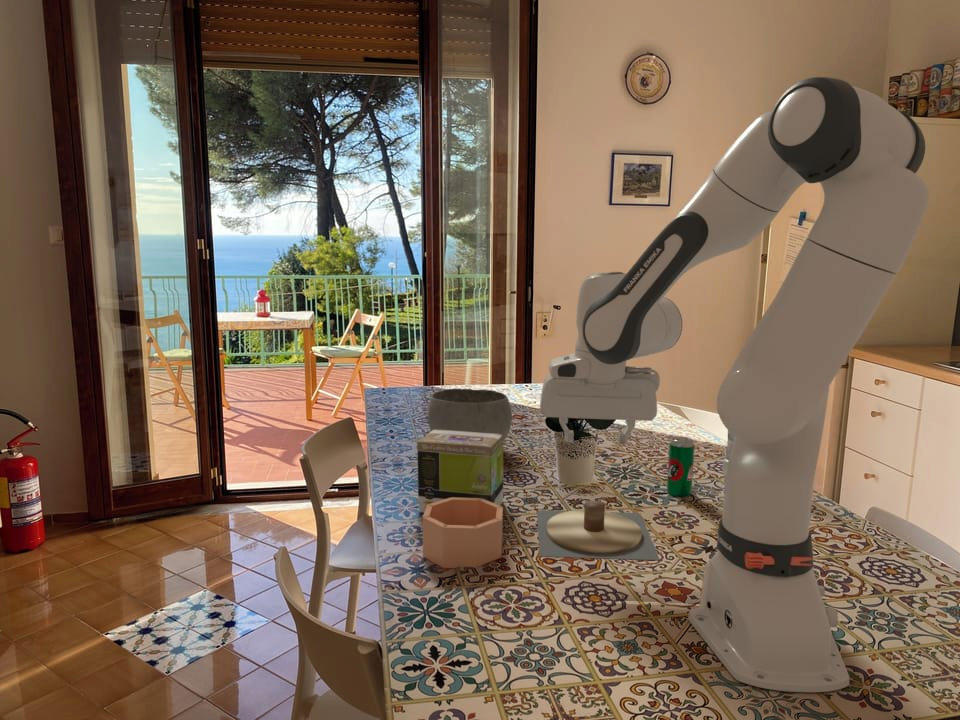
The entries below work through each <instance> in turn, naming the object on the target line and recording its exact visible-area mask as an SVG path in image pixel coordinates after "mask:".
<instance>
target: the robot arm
mask: <svg viewBox="0 0 960 720" xmlns="http://www.w3.org/2000/svg"><path fill="white" fill-rule="evenodd" d="M925 154H926V141H925V136H924V134H923V131H922V129H921V128H920V126H919V125H918V123H916V121H915V120H914V119H913V118H912V117H911V116H910V115H908V114H907V113H905V112H902V111H901V110H898V109H897V108H895V107H894V106H892V105H890V104H889V103H887V102H886V101H885V100H884V98H882V97H880V96H879V95H878V94H875V93H872V92H871V91H868V90H866V89H863V88H860V87H857V86H854V85H851V84H850V83H849V82H847V81H846V80H844V79H843V80H842V79H839V78H836V77H828V76H816V77H809V78H805V79H803V80H800V81H798V82H796V83H794V84H793V85H792V86H790V88H787V90H786V91H785V92H784V93H783V94H782V95H781V96H780V97H779V98H778V100H777V102H776V103H775V105H774V107H773V108H772V110H771V111H768V112H765V113H763V114H761V115H758V117H757V118H756V119H754V120H753V122H752V123H751V124H750V125H749V126H747V127H746V128H745V130H744V131H743V132H742V133H741V134H740V135H739V136H738V137H737V138H736V139H735V140H734V142H733V143H732V144H731V145H730V146H729V147H728V149H727V150H726V151H725V152H724V154H723V155H722V157H721V158H719V160H718V161H717V163H716V164H715V166H714V167H713V169H712V170H711V171H710V173H709V174H708V176H707V177H706V179H705V180H704V181H703V183H702V184H701V185H700V187H699V188H698V190H696V192H695V193H694V195H692V197H691V198H690V200H689V201H687V203H686V205H685V206H684V207H682V209H680V211H679V212H678V213H677V215H676V216H675V217H674V218H672V219H671V221H670V222H669V223H668V224H667V225H666V226H664V228H663V229H662V230H661V231H660V232H659V234H658V235H657V236H656V237H655V238H654V239H653V240H652V242H650V244H649V245H648V246H647V248H646V250H644V252H643V253H642V254H641V255H640V256H639V258H638V259H637V261H636V262H635V263H633V265H632V266H631V267H630V269H629V270H628V272H626V273H624V272H622V271H612V272H611V271H609V272H602V273H601V272H599V273H594V274H590V275H588V276H586V277H584V278H583V281H582V283H581V285H580V289H579V292H578V298H577V306H576V320H575V321H576V322H575V323H576V324H575V325H576V328H577V338H576V339H577V340H576V341H575V344H574V345H575V347H574V352H573V353H570V354H567V355H562V356H559V357H556V358H552V359H550V361H549V363H548V372H549V373H548V374H547V375H546V377H544V378H545V379H544V381H543V384H542V389H541V393H540V394H541V395H540V402H539V411H540V412H539V413H540V414H541V415H542V416H543V417H545V418H558V420H559V421H558V422H559V424H560V427H561V428H562V430H563V431H564V442H566V443H574V439H575V438H574V437H575V433H574V430H572V429H569V428H568V426H567V424H569V423H568V422H569V419H589V420H590V419H592V420H593V419H594V420H619V421H620V420H622V421H625V424H626V426H625V427H624V429H623V431H618V435H617V436H618V437H617V443H618V445H619V444H620V445H628V442H629V441H628V440H629V438H628V437H629V436H630V434H631V432H632V431H633V430H634V428H635V427H636V421H641V422H643V421H644V422H645V421H647V422H651V421H653V420H655V418H656V417H657V415H658V413H657V412H658V401H657V391H658V390H659V388H660V380H661V377H660V374H659V373H658V371H656V370H655V369H652V367H649V366H644V367H637V366H629V365H628V366H627V361H629V360H632V359H637V358H641V357H646V356H650V355H654V354H659V353H662V352H665V351H667V350H670V349H671V348H673V347H674V346H675V345H676V344H677V342H679V340H680V338H681V335H682V331H683V317H682V313H681V312H680V309H679V308H678V306H677V305H676V303H674V302H673V301H672V300H671V299H670V298H667V297H665V296H666V295H667V294H668V292H669V291H670V290H671V289H672V288H673V286H674V285H675V284H676V283H677V282H678V280H680V279H681V278H682V276H684V275H685V273H687V272H688V271H690V270H691V269H693V268H694V267H697V266H698V265H699V264H702V263H704V262H706V261H708V260H711V259H714V258H716V257H718V256H721V255H725V254H728V253H731V252H735V251H736V250H739V249H742V248H744V247H746V246H748V245H749V244H750V243H751V242H752V241H753V240H755V239H756V238H757V237H758V236H760V234H761V233H762V232H763V231H765V229H767V228H768V227H769V225H770V224H771V223H772V222H773V220H774V219H775V218H776V217H777V215H778V214H779V213H780V211H781V210H782V208H784V207H785V205H786V204H787V202H788V201H789V200H790V198H791V196H792V195H794V193H795V192H796V191H797V190H798V189H799V188H800V187H801V186H802V185H803V184H805V183H807V184H818V183H819V184H820V185H821V187H822V190H823V195H824V196H823V197H824V198H823V204H822V206H821V209H820V212H819V215H818V217H816V220H815V222H814V224H813V226H812V227H811V229H810V231H809V233H808V235H807V237H806V238H805V241H803V244H802V246H801V248H800V250H799V251H798V253H797V255H796V257H795V259H794V261H793V262H792V263H793V264H792V265H791V267H790V269H789V270H788V272H787V274H786V276H785V278H784V280H783V282H782V284H781V286H780V288H779V289H778V291H777V293H776V295H775V297H774V298H773V300H772V302H770V305H769V306H768V307H767V309H766V311H765V312H764V313H763V315H762V316H761V318H760V319H759V321H758V323H757V324H756V326H755V327H754V329H753V331H752V332H751V334H750V335H749V336H748V337H747V338H748V339H747V340H746V341H745V343H744V345H743V347H742V349H741V350H740V352H739V354H738V355H737V357H736V358H735V360H734V362H733V363H732V365H731V367H730V368H729V370H728V372H727V374H726V376H725V377H724V379H723V381H722V383H721V385H720V387H719V389H718V393H717V397H716V409H717V414H718V416H719V419H720V421H721V422H722V425H723V426H724V427H725V428H726V429H727V431H728V430H729V431H730V432H731V433H732V434H733V435H734V436H735V438H734V442H733V446H732V450H731V454H730V458H729V461H728V464H727V467H726V476H724V477H725V480H724V490H723V491H724V493H723V506H722V518H721V519H720V520H719V523H718V528H717V532H716V538H717V541H716V546H717V550H716V552H715V554H714V555H713V556H712V557H711V558H710V559H709V560H708V561H707V562H706V563H705V564H704V565H705V566H704V570H703V578H702V585H701V594H700V599H699V600H700V601H699V606H697V607H695V608H691V610H690V611H688V616H687V619H688V621H689V623H690V624H691V626H693V628H694V629H695V630H696V631H697V633H698V635H700V637H701V638H702V639H703V640H704V642H705V643H706V644H707V646H708V647H709V648H710V649H711V650H712V652H713V653H714V654H715V656H716V657H717V658H718V659H719V661H720V663H722V664H723V666H724V667H725V668H726V670H727V672H729V673H730V675H731V676H732V677H733V678H734V679H735V680H736V681H738V682H741V683H743V684H747V685H750V686H754V687H757V688H761V689H767V690H771V691H772V690H773V691H780V692H791V693H793V692H794V693H823V692H824V693H827V692H832V691H839V690H842V689H844V688H846V687H848V686H849V685H850V675H849V672H848V670H847V667H846V666H845V662H844V660H843V658H842V655H841V653H840V651H839V648H838V645H837V642H836V641H835V638H834V635H833V633H832V630H831V628H837V627H838V624H839V623H838V622H839V615H838V611H837V610H836V609H835V608H833V607H826V606H825V604H824V601H823V597H825V595H826V590H825V586H823V585H819V583H818V580H817V577H816V575H815V570H814V569H815V567H814V557H813V555H814V545H813V540H812V535H811V532H810V524H811V515H812V513H811V512H812V505H813V504H812V503H813V494H814V492H813V491H814V483H815V475H816V471H817V465H818V460H819V455H820V449H821V444H822V443H821V442H822V436H823V432H824V425H825V419H826V414H827V413H826V412H827V408H828V407H827V405H828V399H829V392H830V385H831V384H832V382H833V380H834V379H835V377H836V376H837V374H838V373H839V371H840V369H841V368H842V366H843V364H844V363H845V362H846V360H847V358H848V357H849V355H850V353H851V352H852V350H853V349H854V348H855V345H856V344H857V342H858V341H859V339H860V338H861V336H862V335H863V334H864V332H865V329H866V328H867V327H868V324H869V323H870V322H871V319H873V316H874V315H875V313H876V311H877V309H878V308H879V306H880V305H881V303H882V301H883V299H884V298H885V296H886V294H887V292H888V290H889V289H890V287H891V285H892V284H893V282H894V280H895V279H896V278H897V275H898V273H899V272H900V270H901V268H902V266H903V265H904V263H905V261H906V259H907V257H908V256H909V253H910V251H911V250H912V247H913V246H914V242H915V240H916V238H917V236H918V233H919V232H920V229H921V226H922V224H923V221H924V219H925V215H926V212H927V208H928V207H929V203H930V192H929V189H928V186H927V185H926V183H925V181H924V180H923V179H922V178H921V177H920V176H918V174H916V173H917V172H918V171H919V169H920V167H921V165H922V163H923V161H924V158H925Z"/></svg>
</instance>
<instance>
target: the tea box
mask: <svg viewBox="0 0 960 720" xmlns="http://www.w3.org/2000/svg"><path fill="white" fill-rule="evenodd" d="M416 445H417V446H416V447H417V450H416V451H417V454H416V455H417V499H418V500H417V502H418V512H419V513H423V514H424V512H425V509H426V506H427V505H428V504H431V503H435V502H438V501H441V500H444V499H447V498H451V497H459V498H483V499H485V500H487V501H490V502H492V503H494V504H497V505H499V506H502V504H503V502H504V441H503V434H496V433H480V432H467V431H452V430H437V429H434V430H432V431H431V430H430V432H428V433H427V434H426V435H424V436H423V437H422V438H421V439H419V440H418V441H417V443H416Z"/></svg>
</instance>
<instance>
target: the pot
mask: <svg viewBox="0 0 960 720" xmlns="http://www.w3.org/2000/svg"><path fill="white" fill-rule="evenodd" d="M503 509H504V507H503V506H502V505H500V506H499V505H497V504H494V503H492V502H490V501H487V500H485V499H483V498H459V497H451V498H447V499H444V500H441V501H438V502H435V503H431V504H428V505H427V506H426V509H425V512H424V513H423V515H422V557H423V558H425V559H427V560H428V561H430V562H432V563H434V564H435V565H438V566H439V567H440V568H443V569H457V568H458V567H461V568H462V567H463V568H479V567H481V566H483V565H486V564H488V563H491V562H492V561H493V562H494V561H495V560H498V559H501V558H502V552H503V551H502V550H503V527H504V526H503V524H504V523H503V519H504V518H503V517H504V511H503Z"/></svg>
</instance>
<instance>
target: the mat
mask: <svg viewBox="0 0 960 720" xmlns="http://www.w3.org/2000/svg"><path fill="white" fill-rule="evenodd" d="M567 511H568V510H544V509H543V510H542V509H541V510H539V509H537V510H536V515H537V532H538V533H537V534H538V548H539V549H538V551H539V554H538V555H539V557H541V558H542V557H543V558H544V557H545V558H567V559H568V558H569V559H570V558H571V559H572V558H573V559H574V558H575V559H599V560H600V559H603V560H605V559H606V560H631V561H632V560H635V561H661V559H660V556H659V554H658V552H657V549H656V547H655V545H654V543H653V540H652V538H651V535H650V533H649V531H648V528H647V526H646V523H645V520H644V518H643V517H642V514H641V513H640V512H638V513H637V512H612V511H611V512H610V511H609V512H610V513H615V514H618V515H621V516H624V517H626V518H628V519H630V520H632V521H634V522H635V523H636V524H638V525H639V527H640V528H641V530H642V539H641V542H640V543H639V545H637V546H636V547H635V548H633V549H630V550H628V551H625V552H620V553H614V554H590V553H583V552H578V551H574V550H570V549H567V548H565V547H562V546H560V545H558V544H556V543H555V542H553V541H552V540H551V539H550V538H549V537H548V535H547V522H548V521H549V519H551V518H552V517H553V516H555V515H557V514H560V513H563V512H567Z"/></svg>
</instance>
